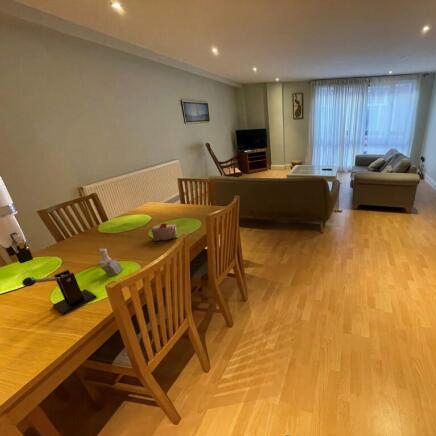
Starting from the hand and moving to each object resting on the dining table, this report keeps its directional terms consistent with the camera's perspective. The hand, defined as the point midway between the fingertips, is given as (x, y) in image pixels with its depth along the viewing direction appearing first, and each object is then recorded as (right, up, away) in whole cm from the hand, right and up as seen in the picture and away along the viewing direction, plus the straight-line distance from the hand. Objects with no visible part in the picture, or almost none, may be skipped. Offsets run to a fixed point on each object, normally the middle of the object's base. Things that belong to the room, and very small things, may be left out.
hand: (21, 257), depth 83 cm
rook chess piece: (-4, -10, +43) cm, 45 cm away
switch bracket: (+5, -21, +16) cm, 26 cm away
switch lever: (+2, -11, +6) cm, 13 cm away
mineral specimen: (+6, -14, +34) cm, 37 cm away
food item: (+14, +1, +69) cm, 71 cm away
